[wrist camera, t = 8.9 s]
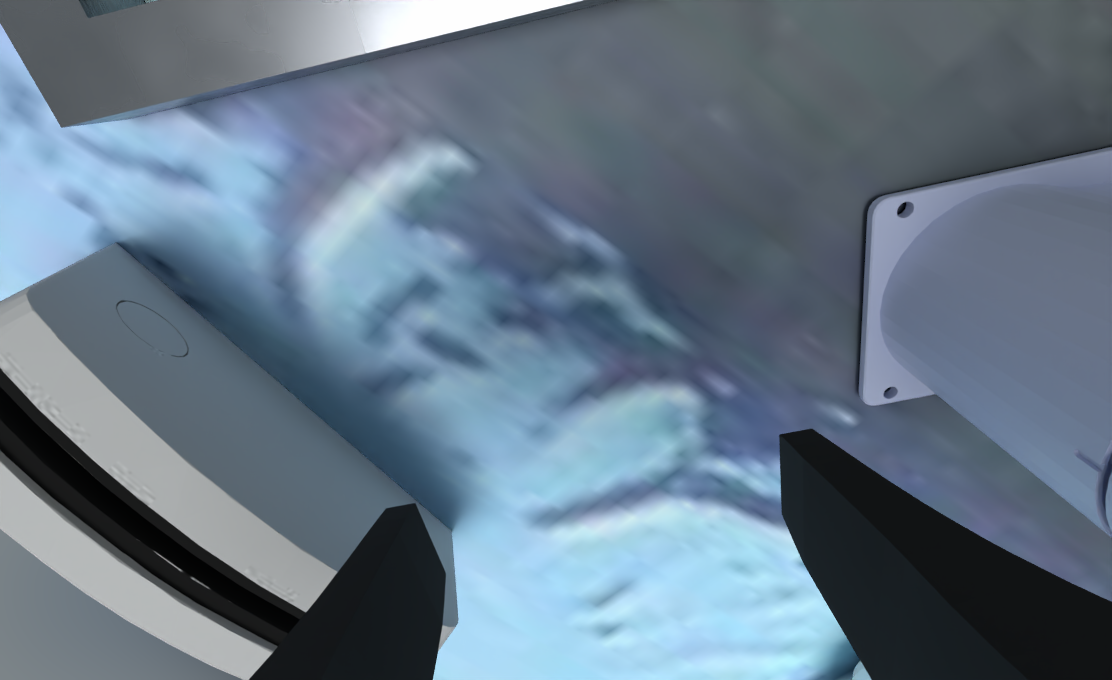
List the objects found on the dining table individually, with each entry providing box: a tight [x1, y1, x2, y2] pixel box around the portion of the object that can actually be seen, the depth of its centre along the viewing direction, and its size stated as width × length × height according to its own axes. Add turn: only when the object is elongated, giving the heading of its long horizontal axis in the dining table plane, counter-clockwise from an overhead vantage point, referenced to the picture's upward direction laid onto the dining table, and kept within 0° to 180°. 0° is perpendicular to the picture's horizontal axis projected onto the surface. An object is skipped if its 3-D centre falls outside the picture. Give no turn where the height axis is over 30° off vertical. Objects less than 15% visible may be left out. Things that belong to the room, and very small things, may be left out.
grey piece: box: [0, 243, 458, 680], centre depth 17 cm, size 17×5×10 cm, turn 37°
